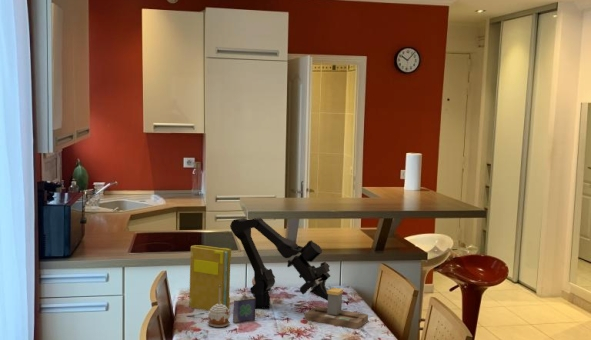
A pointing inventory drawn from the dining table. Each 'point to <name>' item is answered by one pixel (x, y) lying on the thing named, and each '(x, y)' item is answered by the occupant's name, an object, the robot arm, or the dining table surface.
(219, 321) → the candy apple
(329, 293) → the switch handle
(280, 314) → the dining table surface
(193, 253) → the book
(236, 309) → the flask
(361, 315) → the wooden slotted board
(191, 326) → the dining table surface
